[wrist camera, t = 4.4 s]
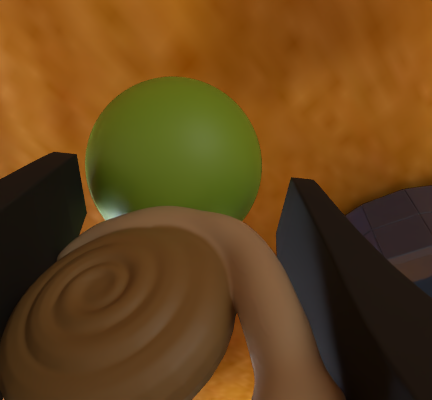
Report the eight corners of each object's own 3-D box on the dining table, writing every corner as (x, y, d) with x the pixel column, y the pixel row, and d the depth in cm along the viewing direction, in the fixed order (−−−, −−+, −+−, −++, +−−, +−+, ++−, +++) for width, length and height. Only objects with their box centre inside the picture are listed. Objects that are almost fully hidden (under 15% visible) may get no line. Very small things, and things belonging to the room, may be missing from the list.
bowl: (460, 337, 23) (494, 401, 20) (279, 318, 23) (285, 380, 20) (596, 192, 16) (683, 257, 13) (333, 163, 16) (356, 223, 13)
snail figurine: (293, 172, 14) (387, 652, 5) (144, 195, 16) (-13, 615, 6) (275, 29, 11) (448, 603, 2) (91, 72, 12) (-410, 548, 3)
